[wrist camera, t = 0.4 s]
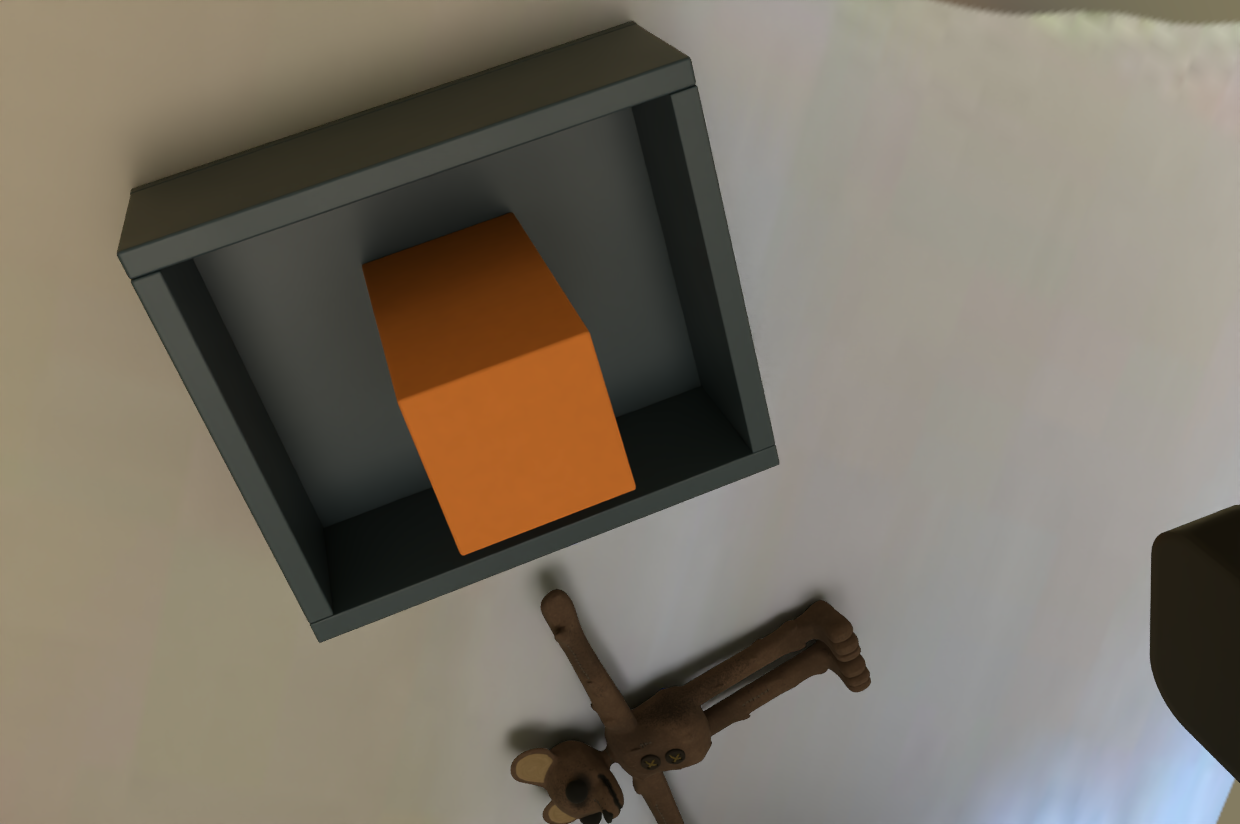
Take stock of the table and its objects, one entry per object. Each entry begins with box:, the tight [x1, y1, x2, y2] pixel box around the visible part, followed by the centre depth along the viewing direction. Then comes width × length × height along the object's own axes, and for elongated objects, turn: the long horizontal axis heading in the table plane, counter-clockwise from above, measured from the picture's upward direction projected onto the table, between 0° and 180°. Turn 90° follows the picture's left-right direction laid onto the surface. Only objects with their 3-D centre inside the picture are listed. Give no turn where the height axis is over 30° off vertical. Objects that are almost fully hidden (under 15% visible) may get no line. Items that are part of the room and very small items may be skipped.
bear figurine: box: [511, 589, 871, 824], centre depth 48 cm, size 18×4×14 cm
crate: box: [117, 21, 779, 643], centre depth 36 cm, size 14×16×5 cm
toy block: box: [362, 213, 636, 555], centre depth 34 cm, size 5×5×10 cm
